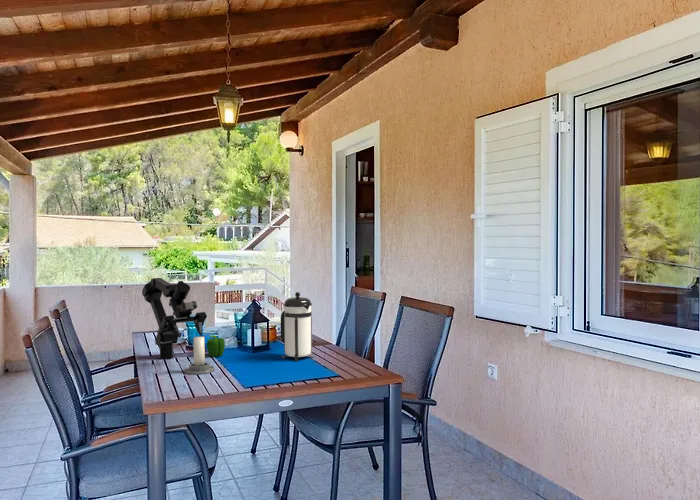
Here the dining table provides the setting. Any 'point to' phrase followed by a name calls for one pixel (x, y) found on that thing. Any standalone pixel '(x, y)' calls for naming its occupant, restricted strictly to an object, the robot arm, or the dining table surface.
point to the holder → (199, 369)
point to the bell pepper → (215, 346)
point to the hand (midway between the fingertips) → (190, 335)
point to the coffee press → (297, 327)
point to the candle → (199, 351)
